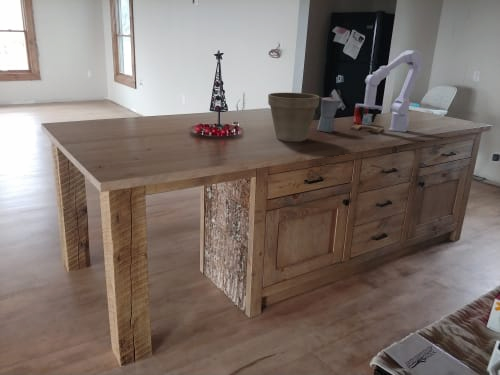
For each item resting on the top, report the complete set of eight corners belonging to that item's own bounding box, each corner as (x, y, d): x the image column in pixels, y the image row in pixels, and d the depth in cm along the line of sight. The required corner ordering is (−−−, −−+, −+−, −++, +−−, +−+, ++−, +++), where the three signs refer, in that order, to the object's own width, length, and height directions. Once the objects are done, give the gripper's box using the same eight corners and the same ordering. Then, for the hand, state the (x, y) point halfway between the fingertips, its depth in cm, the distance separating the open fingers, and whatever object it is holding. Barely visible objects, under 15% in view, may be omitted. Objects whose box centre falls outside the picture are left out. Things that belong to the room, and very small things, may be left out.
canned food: (363, 125, 268) (365, 106, 265) (350, 123, 273) (353, 105, 269) (368, 123, 274) (370, 105, 271) (356, 121, 279) (358, 104, 275)
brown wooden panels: (383, 129, 257) (383, 127, 257) (379, 133, 248) (379, 130, 248) (355, 126, 264) (356, 124, 264) (350, 129, 255) (350, 127, 255)
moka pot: (338, 133, 242) (342, 96, 235) (309, 131, 244) (313, 94, 238) (338, 130, 251) (342, 93, 244) (311, 128, 253) (314, 92, 247)
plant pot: (258, 134, 231) (260, 91, 224) (301, 132, 240) (304, 91, 233) (278, 145, 209) (281, 98, 202) (324, 143, 218) (329, 98, 211)
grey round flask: (363, 123, 257) (364, 113, 255) (373, 124, 255) (374, 114, 253) (358, 125, 249) (360, 115, 248) (369, 126, 247) (370, 116, 245)
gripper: (355, 96, 248) (352, 120, 253) (381, 99, 242) (378, 124, 246) (358, 95, 254) (355, 119, 259) (384, 97, 248) (381, 122, 252)
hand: (367, 121), depth 253 cm, fingers closed on grey round flask, 6 cm apart
